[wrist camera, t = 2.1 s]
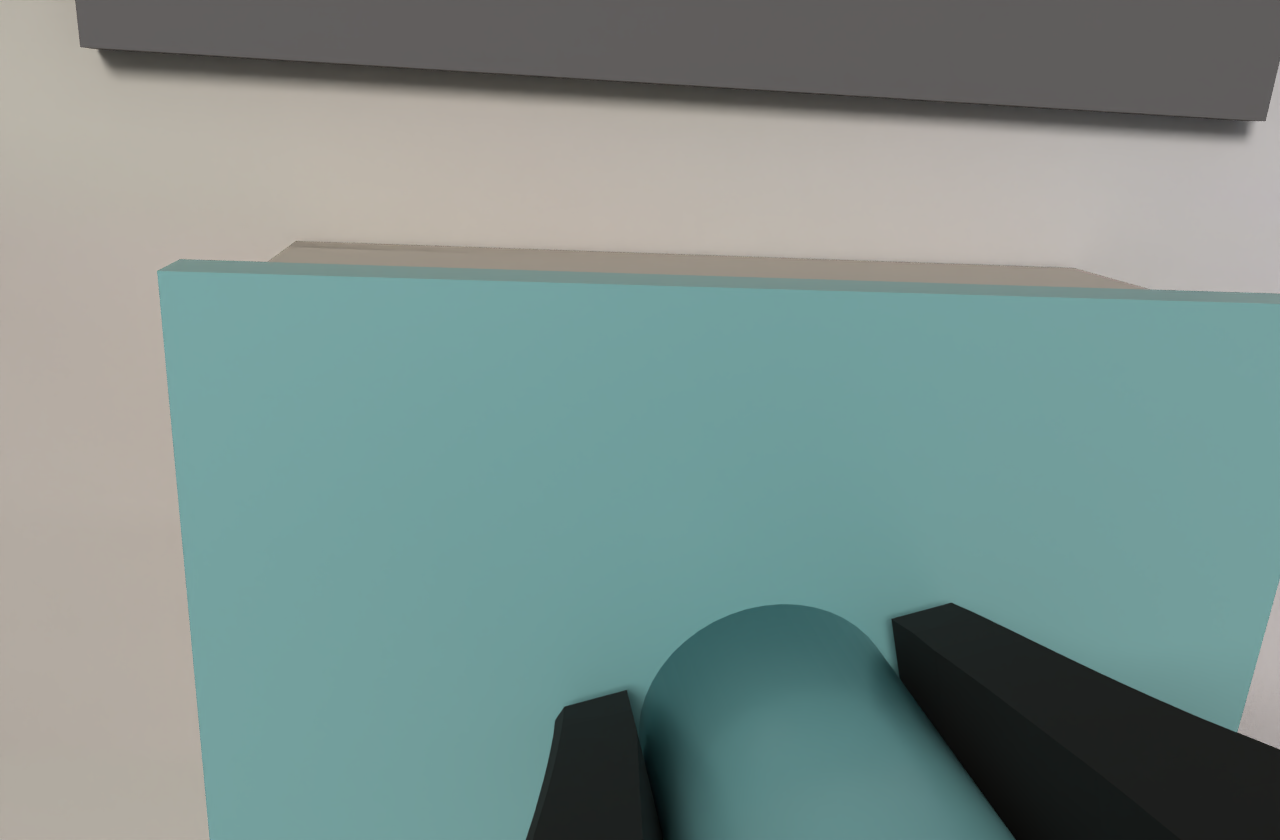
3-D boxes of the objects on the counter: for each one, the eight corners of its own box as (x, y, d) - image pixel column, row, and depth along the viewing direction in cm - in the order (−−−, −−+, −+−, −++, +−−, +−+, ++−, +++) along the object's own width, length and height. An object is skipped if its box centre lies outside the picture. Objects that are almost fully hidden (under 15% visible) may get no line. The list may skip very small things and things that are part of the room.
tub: (1074, 268, 13) (1271, 323, 10) (979, 772, 16) (1112, 953, 12) (295, 240, 12) (220, 295, 8) (324, 807, 14) (274, 1024, 11)
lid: (1246, 280, 11) (1950, 445, 5) (1092, 919, 13) (1475, 1435, 8) (206, 245, 9) (-167, 435, 4) (262, 985, 11) (85, 1688, 6)
